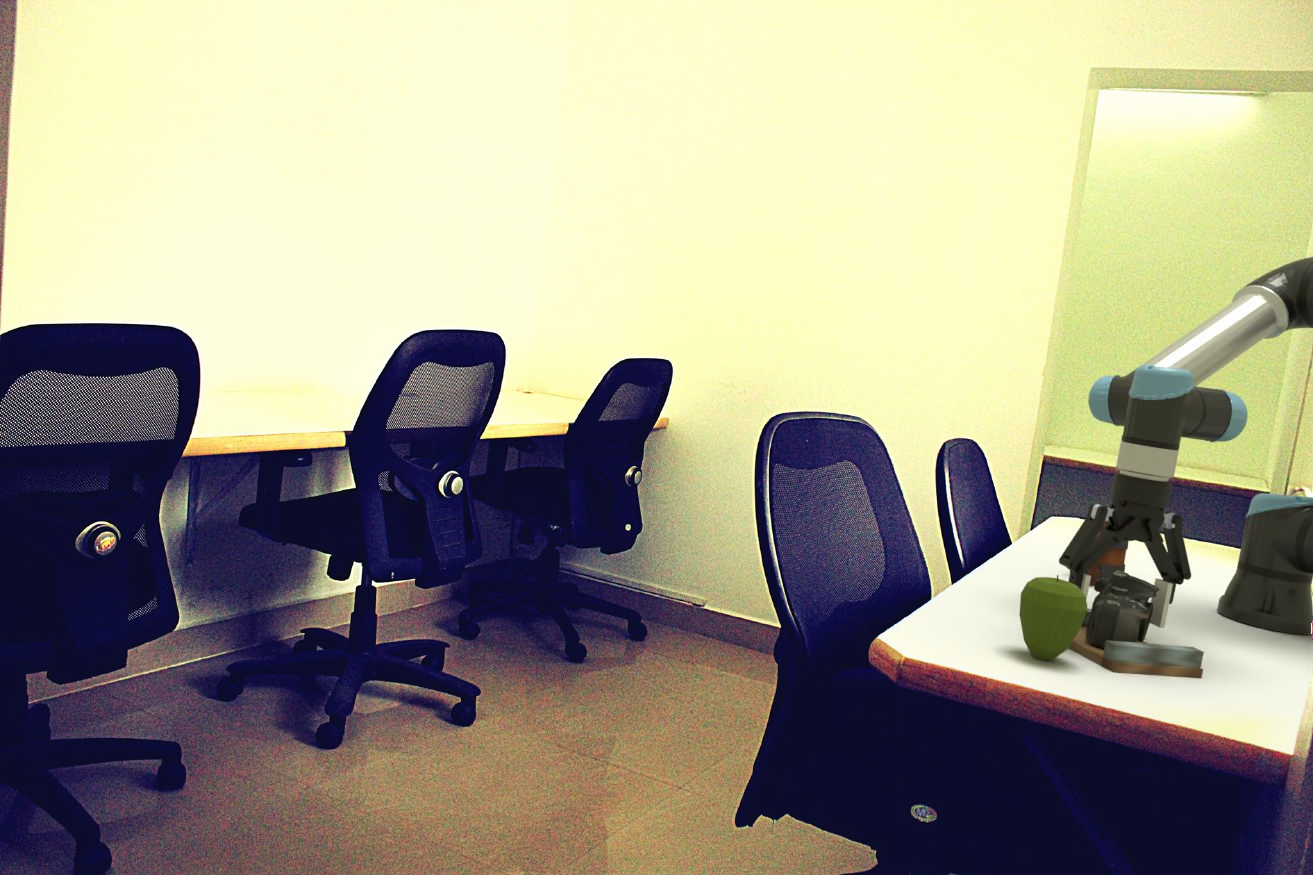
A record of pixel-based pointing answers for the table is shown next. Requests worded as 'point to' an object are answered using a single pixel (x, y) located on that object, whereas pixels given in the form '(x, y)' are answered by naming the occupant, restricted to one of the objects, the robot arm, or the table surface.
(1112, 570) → the mug
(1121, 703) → the table surface
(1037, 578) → the apple
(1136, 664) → the stand
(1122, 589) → the camera
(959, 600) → the table surface
